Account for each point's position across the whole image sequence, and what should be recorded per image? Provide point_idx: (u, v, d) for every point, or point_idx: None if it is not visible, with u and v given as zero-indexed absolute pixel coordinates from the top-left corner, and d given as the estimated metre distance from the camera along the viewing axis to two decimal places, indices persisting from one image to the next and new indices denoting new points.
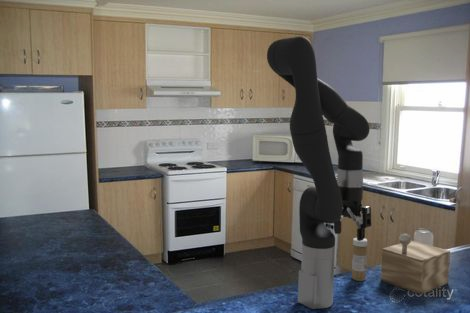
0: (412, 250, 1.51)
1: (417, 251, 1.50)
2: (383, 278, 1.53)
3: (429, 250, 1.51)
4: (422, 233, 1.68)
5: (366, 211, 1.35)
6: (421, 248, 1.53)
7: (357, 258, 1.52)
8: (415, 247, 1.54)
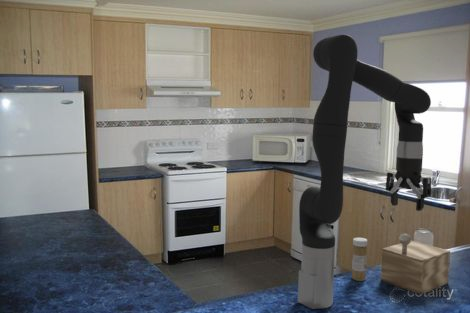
0: (412, 250, 1.51)
1: (417, 251, 1.50)
2: (383, 278, 1.53)
3: (429, 250, 1.51)
4: (422, 233, 1.68)
5: (427, 181, 1.39)
6: (421, 248, 1.53)
7: (357, 258, 1.52)
8: (415, 247, 1.54)
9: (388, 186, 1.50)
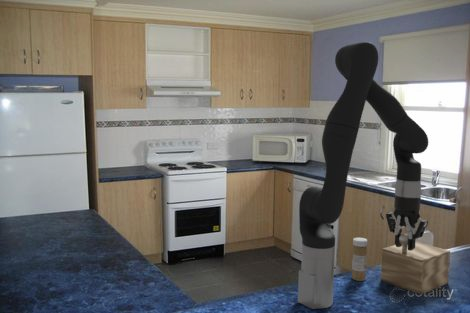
0: (412, 250, 1.51)
1: (417, 251, 1.50)
2: (383, 278, 1.53)
3: (429, 250, 1.51)
4: None
5: (423, 225, 1.41)
6: (421, 248, 1.53)
7: (357, 258, 1.52)
8: (415, 247, 1.54)
9: (391, 227, 1.50)
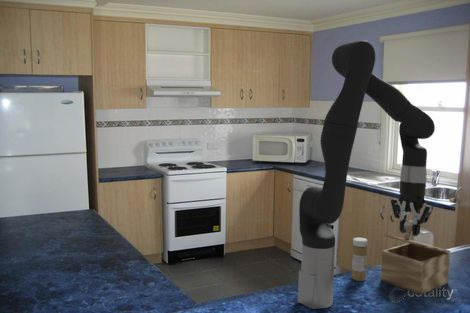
0: (414, 241, 1.51)
1: None
2: (383, 278, 1.53)
3: None
4: (422, 233, 1.68)
5: (428, 210, 1.42)
6: None
7: (357, 258, 1.52)
8: None
9: (396, 213, 1.50)
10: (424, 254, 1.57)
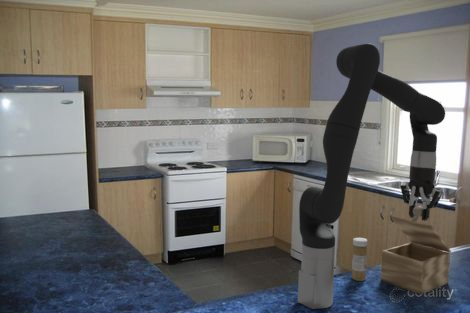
0: None
1: None
2: (383, 278, 1.53)
3: None
4: None
5: (438, 195, 1.44)
6: None
7: (357, 258, 1.52)
8: None
9: (405, 198, 1.53)
10: (424, 254, 1.57)
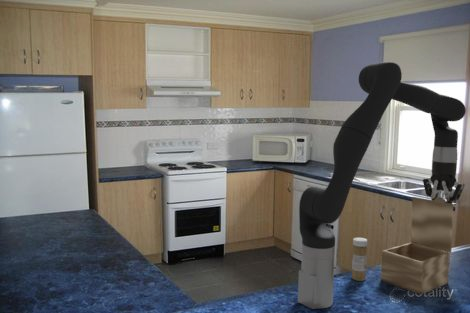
0: None
1: None
2: (383, 278, 1.53)
3: None
4: None
5: (460, 188, 1.52)
6: None
7: (357, 258, 1.52)
8: None
9: (428, 191, 1.61)
10: (424, 254, 1.57)
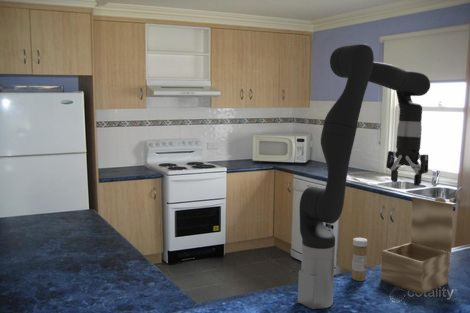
0: None
1: None
2: (383, 278, 1.53)
3: None
4: None
5: (424, 158, 1.51)
6: None
7: (357, 258, 1.52)
8: None
9: (389, 164, 1.61)
10: (424, 254, 1.57)
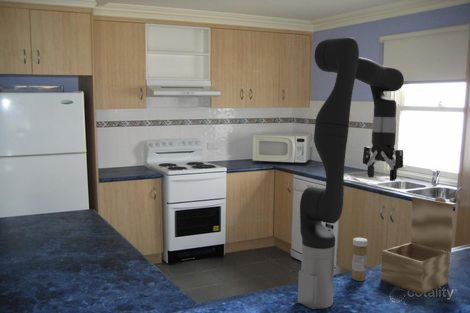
0: None
1: None
2: (383, 278, 1.53)
3: None
4: None
5: (399, 153, 1.51)
6: None
7: (357, 258, 1.52)
8: None
9: (365, 159, 1.62)
10: (424, 254, 1.57)
